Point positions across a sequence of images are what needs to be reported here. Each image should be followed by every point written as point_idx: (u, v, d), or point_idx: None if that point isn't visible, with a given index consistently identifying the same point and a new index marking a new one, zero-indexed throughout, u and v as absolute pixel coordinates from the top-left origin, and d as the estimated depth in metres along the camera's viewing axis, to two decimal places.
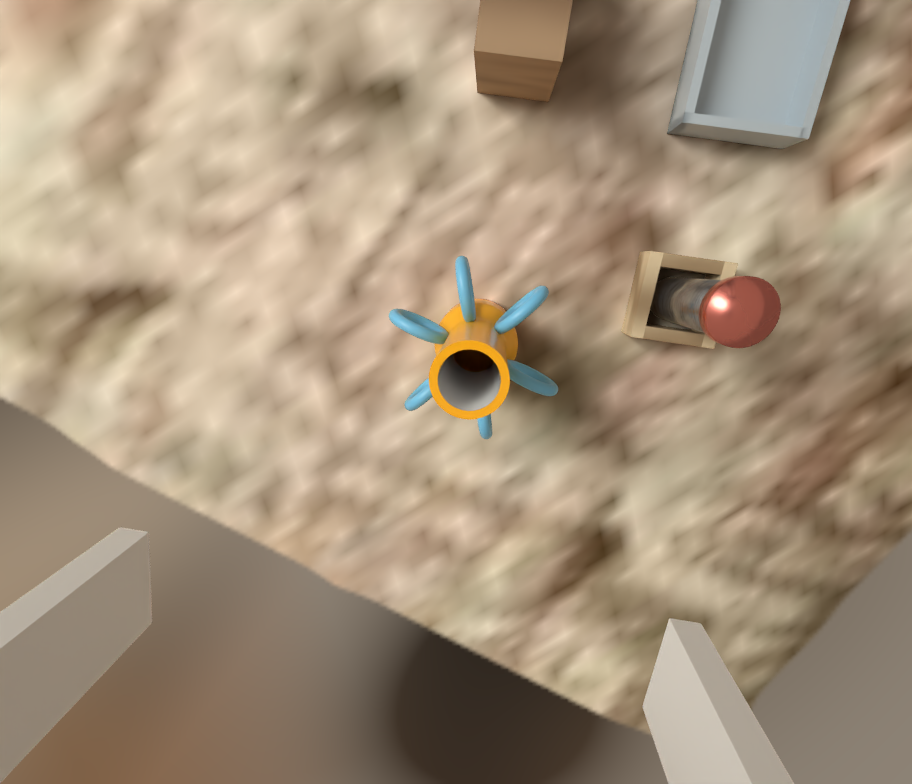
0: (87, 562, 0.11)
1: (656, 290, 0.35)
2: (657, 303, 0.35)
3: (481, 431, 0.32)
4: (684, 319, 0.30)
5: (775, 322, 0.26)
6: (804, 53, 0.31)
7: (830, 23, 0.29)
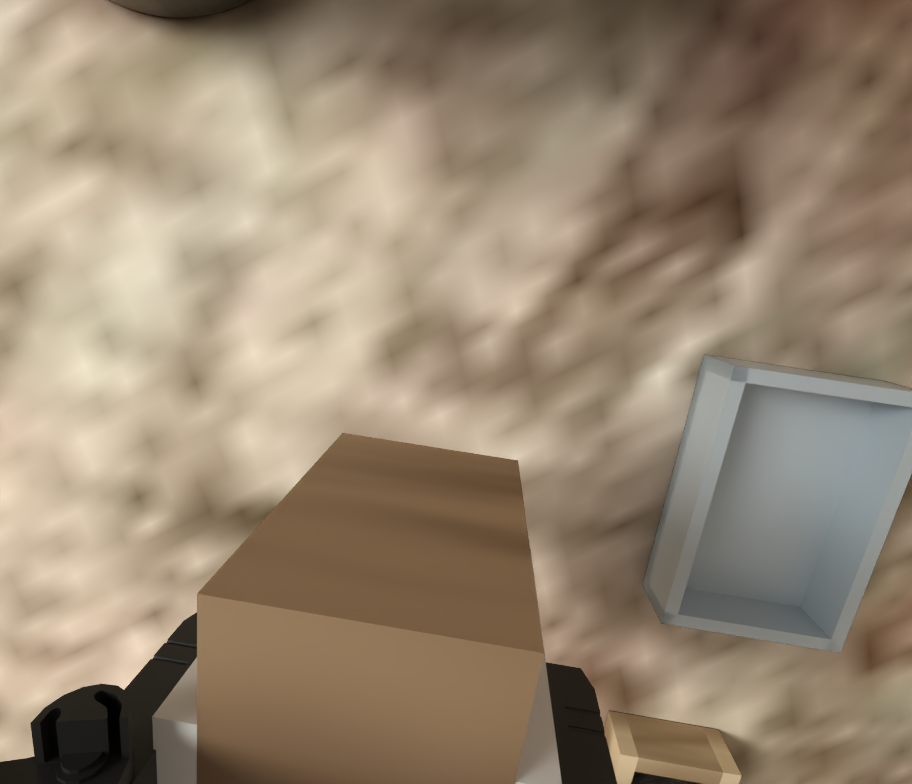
0: None
1: None
2: None
3: None
4: None
5: None
6: (831, 518, 0.22)
7: (871, 519, 0.20)
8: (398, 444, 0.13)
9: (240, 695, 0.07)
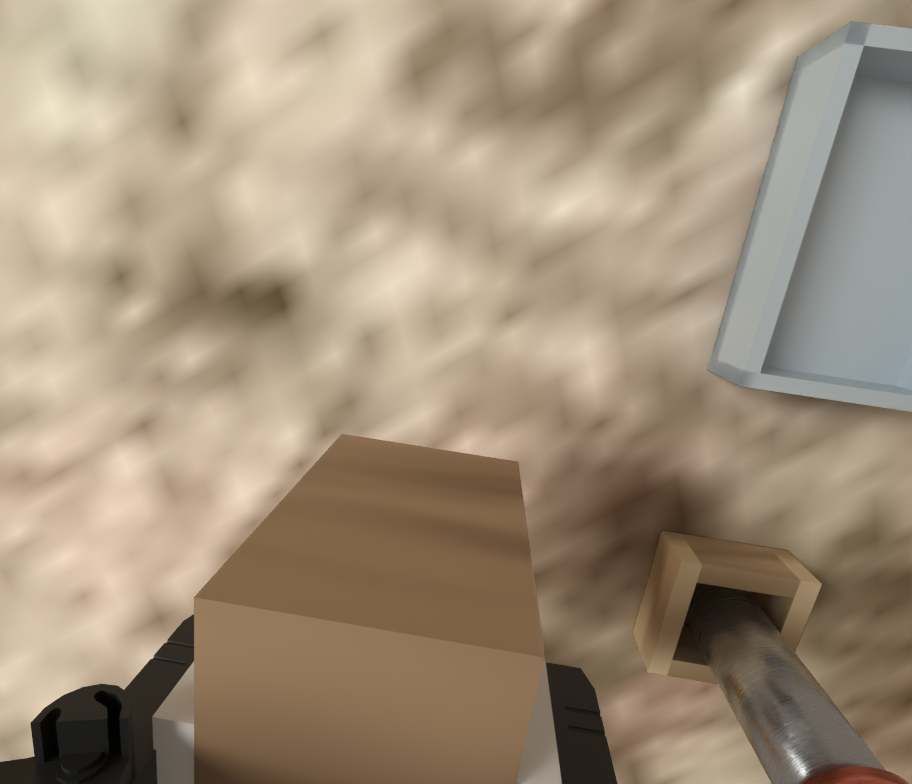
0: None
1: None
2: (690, 625, 0.22)
3: None
4: None
5: None
6: None
7: None
8: (397, 445, 0.13)
9: (237, 699, 0.07)
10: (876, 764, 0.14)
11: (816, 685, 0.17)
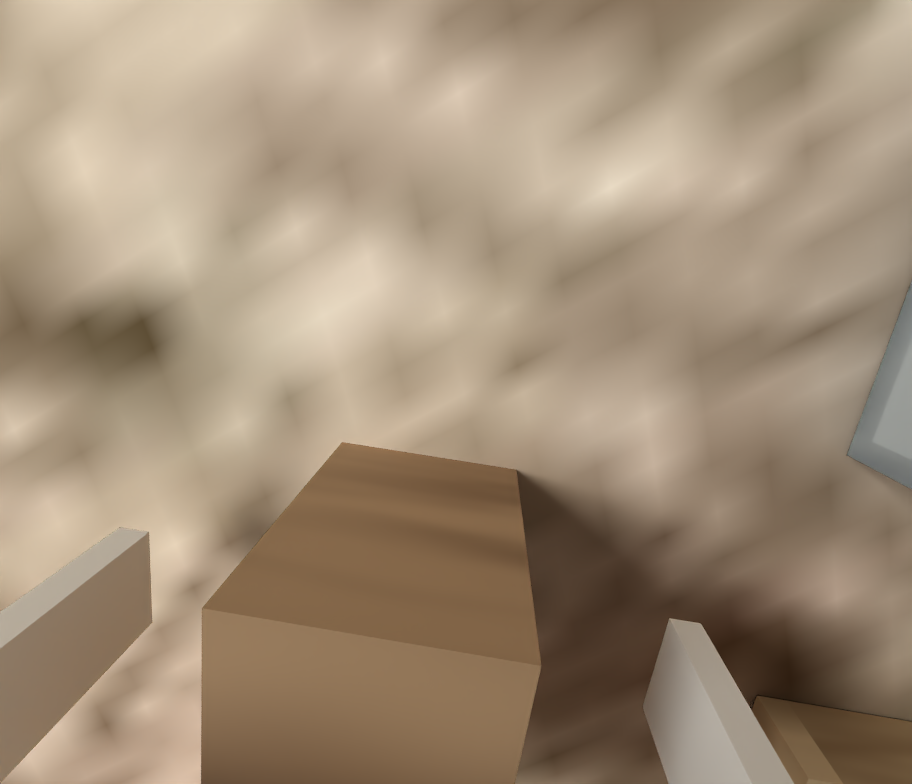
0: (87, 562, 0.11)
1: None
2: None
3: None
4: None
5: None
6: None
7: None
8: (398, 452, 0.14)
9: (244, 706, 0.07)
10: None
11: None
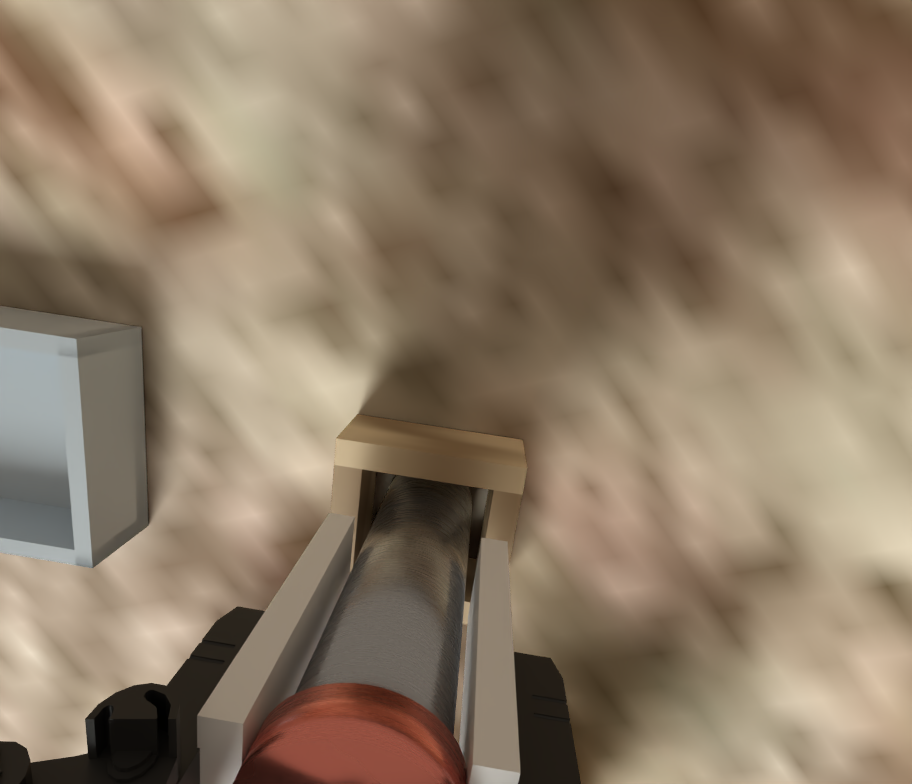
0: (324, 541, 0.13)
1: None
2: None
3: None
4: None
5: (368, 753, 0.07)
6: None
7: None
8: None
9: None
10: None
11: (337, 601, 0.12)
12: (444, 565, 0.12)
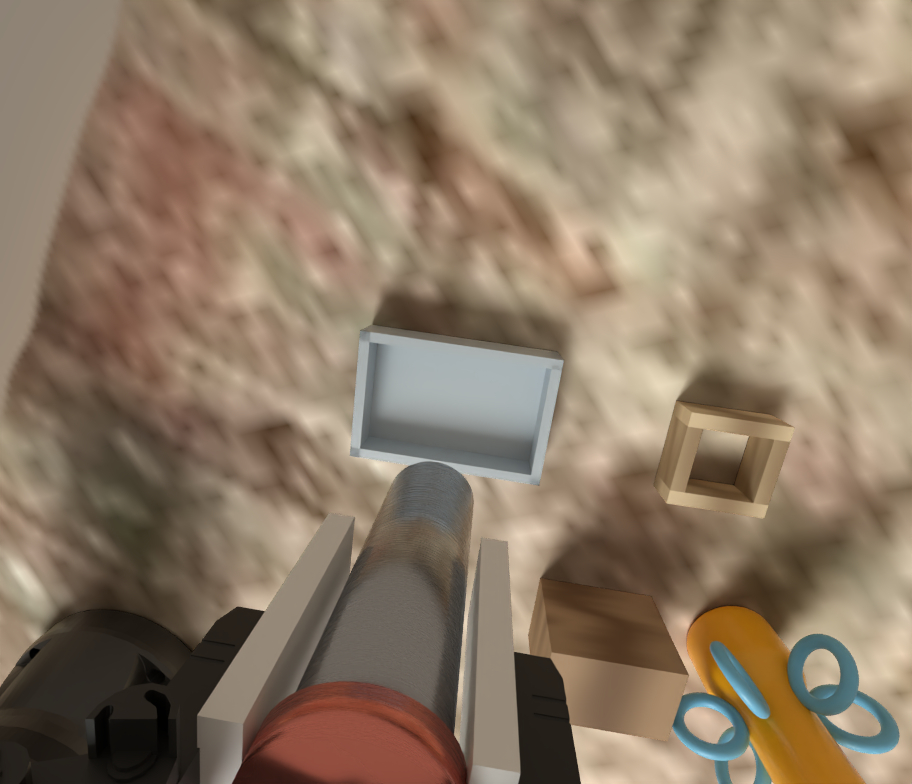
0: (324, 541, 0.13)
1: None
2: None
3: None
4: None
5: (368, 752, 0.07)
6: None
7: None
8: (532, 617, 0.36)
9: None
10: None
11: (338, 600, 0.12)
12: (445, 564, 0.12)
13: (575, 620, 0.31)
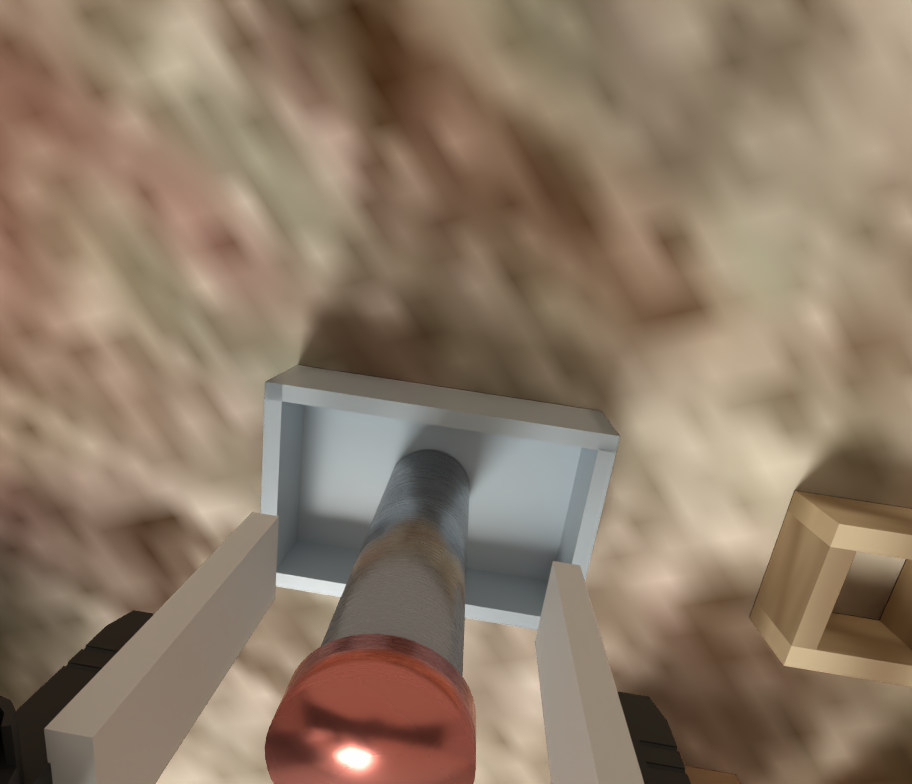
0: (238, 541, 0.12)
1: None
2: None
3: None
4: None
5: (393, 688, 0.08)
6: None
7: None
8: None
9: None
10: None
11: (351, 573, 0.13)
12: (448, 539, 0.14)
13: None
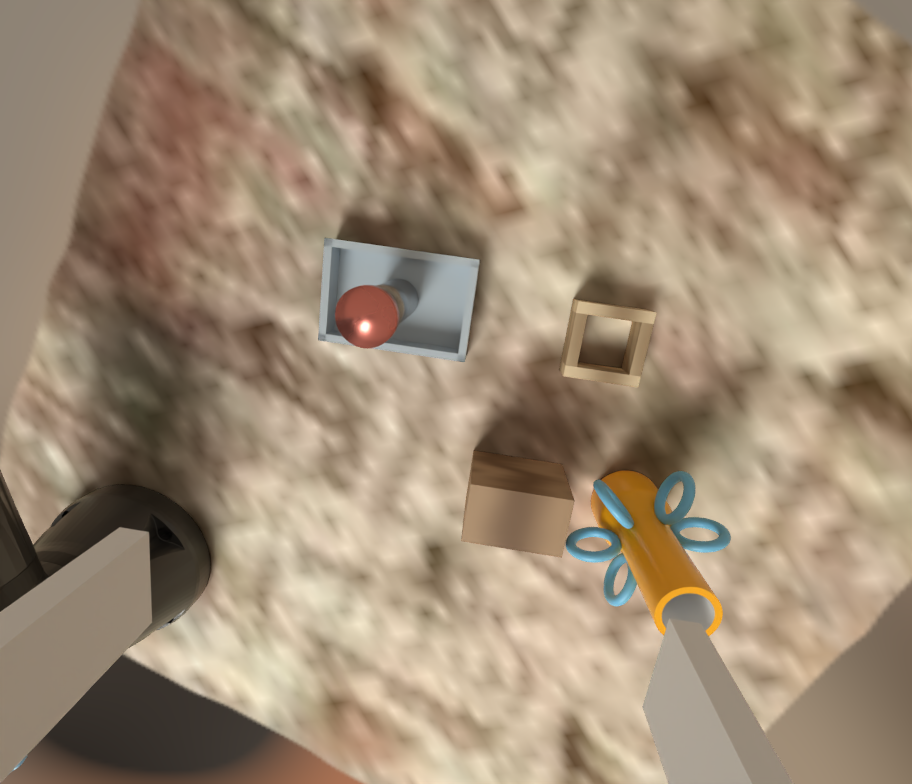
0: (87, 562, 0.11)
1: None
2: None
3: (723, 547, 0.35)
4: None
5: (371, 288, 0.29)
6: (412, 259, 0.39)
7: (396, 255, 0.37)
8: (468, 484, 0.44)
9: (483, 537, 0.38)
10: None
11: None
12: (398, 290, 0.34)
13: (494, 471, 0.40)
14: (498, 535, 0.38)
